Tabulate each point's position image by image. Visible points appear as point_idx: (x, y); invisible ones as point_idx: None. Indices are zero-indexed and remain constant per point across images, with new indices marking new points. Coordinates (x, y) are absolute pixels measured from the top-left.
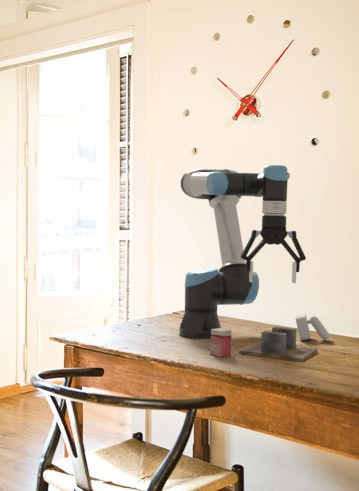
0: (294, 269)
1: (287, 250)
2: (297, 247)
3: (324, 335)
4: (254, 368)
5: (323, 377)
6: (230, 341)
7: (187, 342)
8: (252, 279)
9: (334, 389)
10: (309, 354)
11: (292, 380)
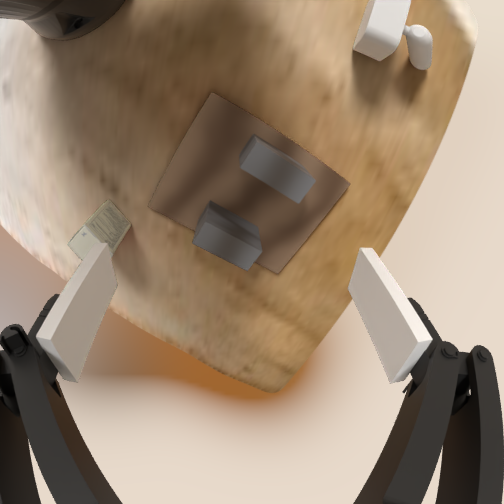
0: (377, 345)
1: (384, 462)
2: (445, 467)
3: (417, 64)
4: (176, 312)
5: (273, 349)
6: (120, 242)
7: (44, 92)
8: (111, 294)
9: (266, 382)
10: (309, 234)
11: (225, 360)
